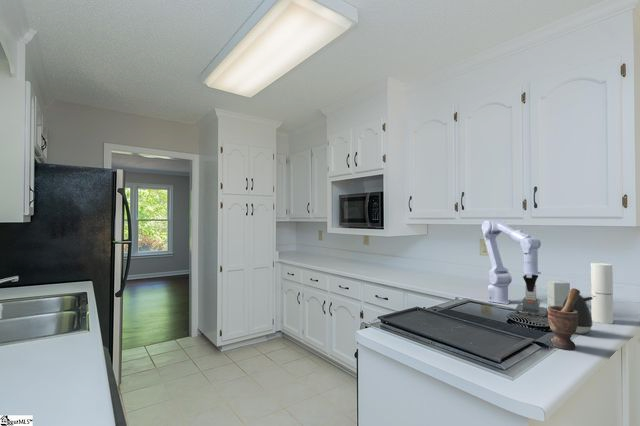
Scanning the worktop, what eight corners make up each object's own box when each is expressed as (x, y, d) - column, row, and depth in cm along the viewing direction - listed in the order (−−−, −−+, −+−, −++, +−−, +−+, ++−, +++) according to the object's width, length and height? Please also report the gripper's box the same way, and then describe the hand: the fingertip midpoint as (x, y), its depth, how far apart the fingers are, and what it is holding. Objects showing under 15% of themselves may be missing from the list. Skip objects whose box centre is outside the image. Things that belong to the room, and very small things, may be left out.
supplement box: (570, 308, 163) (570, 283, 163) (553, 307, 164) (553, 282, 164) (562, 304, 170) (562, 280, 170) (546, 304, 171) (546, 279, 171)
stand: (515, 312, 156) (514, 300, 156) (518, 307, 166) (518, 295, 166) (545, 317, 149) (545, 304, 149) (547, 311, 158) (547, 298, 158)
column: (525, 302, 157) (525, 285, 157) (526, 301, 160) (526, 283, 160) (535, 304, 154) (535, 286, 154) (536, 302, 158) (536, 285, 158)
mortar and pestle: (555, 337, 124) (555, 284, 124) (584, 344, 117) (583, 288, 117) (544, 345, 117) (543, 289, 117) (574, 353, 110) (573, 293, 110)
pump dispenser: (596, 338, 123) (595, 297, 123) (562, 333, 128) (561, 294, 129) (590, 329, 132) (589, 292, 132) (558, 325, 137) (557, 289, 137)
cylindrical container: (608, 324, 138) (607, 265, 138) (588, 320, 144) (587, 263, 145) (616, 322, 141) (615, 264, 142) (596, 317, 148) (595, 262, 148)
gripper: (539, 264, 149) (539, 294, 149) (541, 261, 161) (542, 289, 161) (521, 263, 154) (521, 292, 154) (524, 260, 165) (525, 287, 165)
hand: (530, 290), depth 157 cm, fingers closed on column, 4 cm apart
